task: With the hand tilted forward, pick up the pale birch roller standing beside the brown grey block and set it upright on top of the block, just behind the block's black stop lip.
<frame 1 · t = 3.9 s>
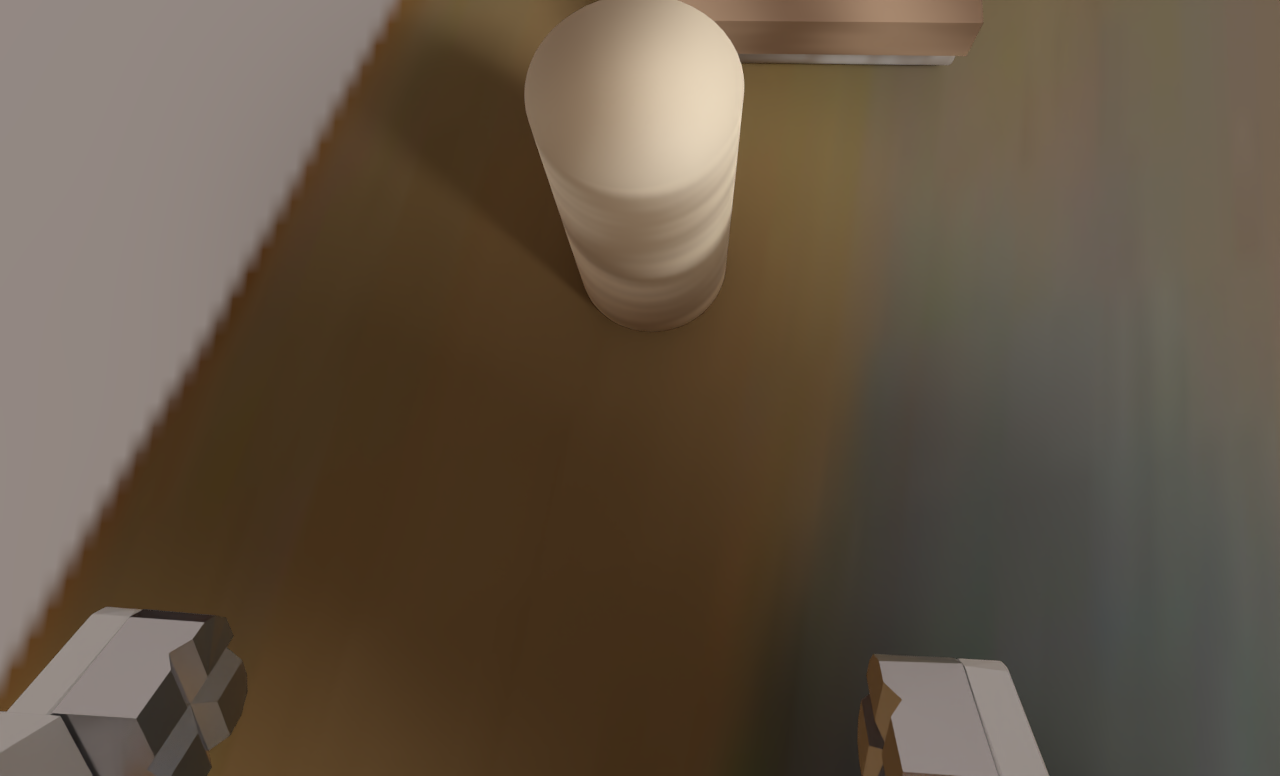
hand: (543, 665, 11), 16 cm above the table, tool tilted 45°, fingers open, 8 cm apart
birch roller: (653, 262, 29), on the table
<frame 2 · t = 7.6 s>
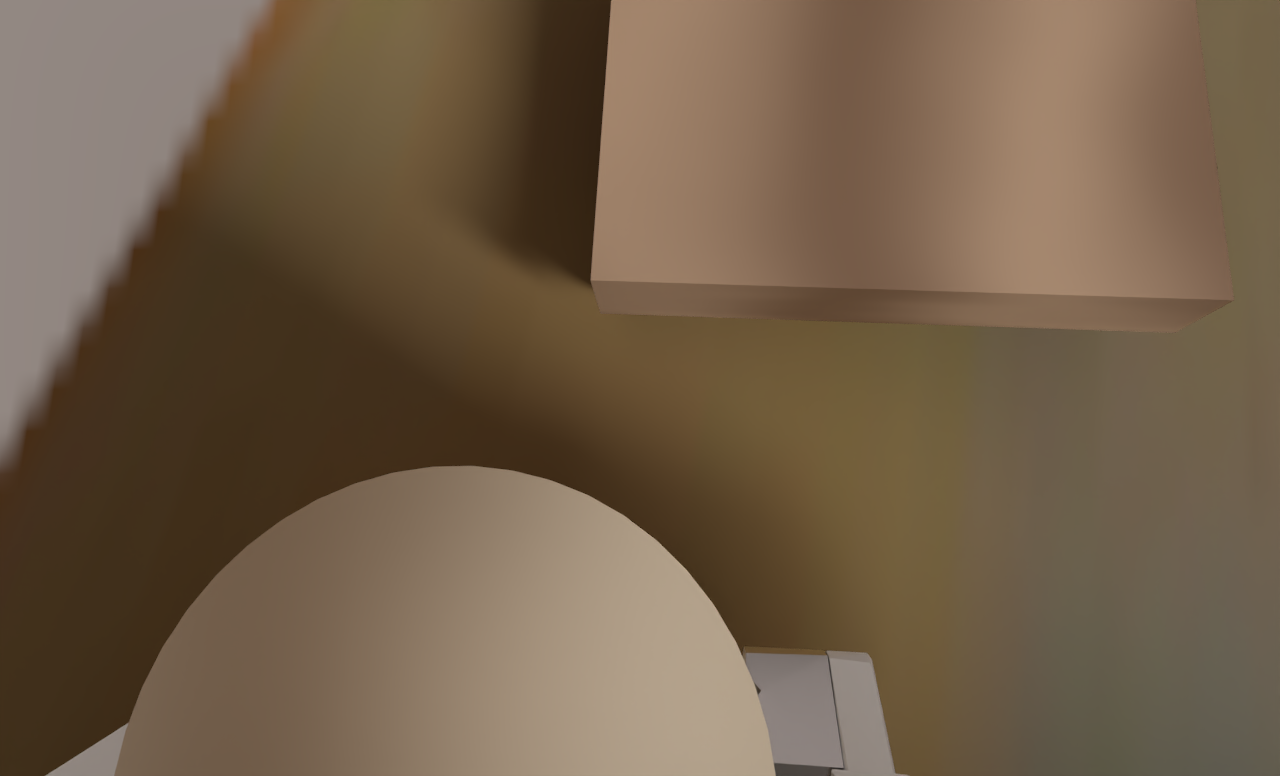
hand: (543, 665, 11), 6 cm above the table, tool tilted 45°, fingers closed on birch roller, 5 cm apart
birch roller: (590, 680, 16), on the table, touching gripper
brown grey block: (852, 122, 18), on the table
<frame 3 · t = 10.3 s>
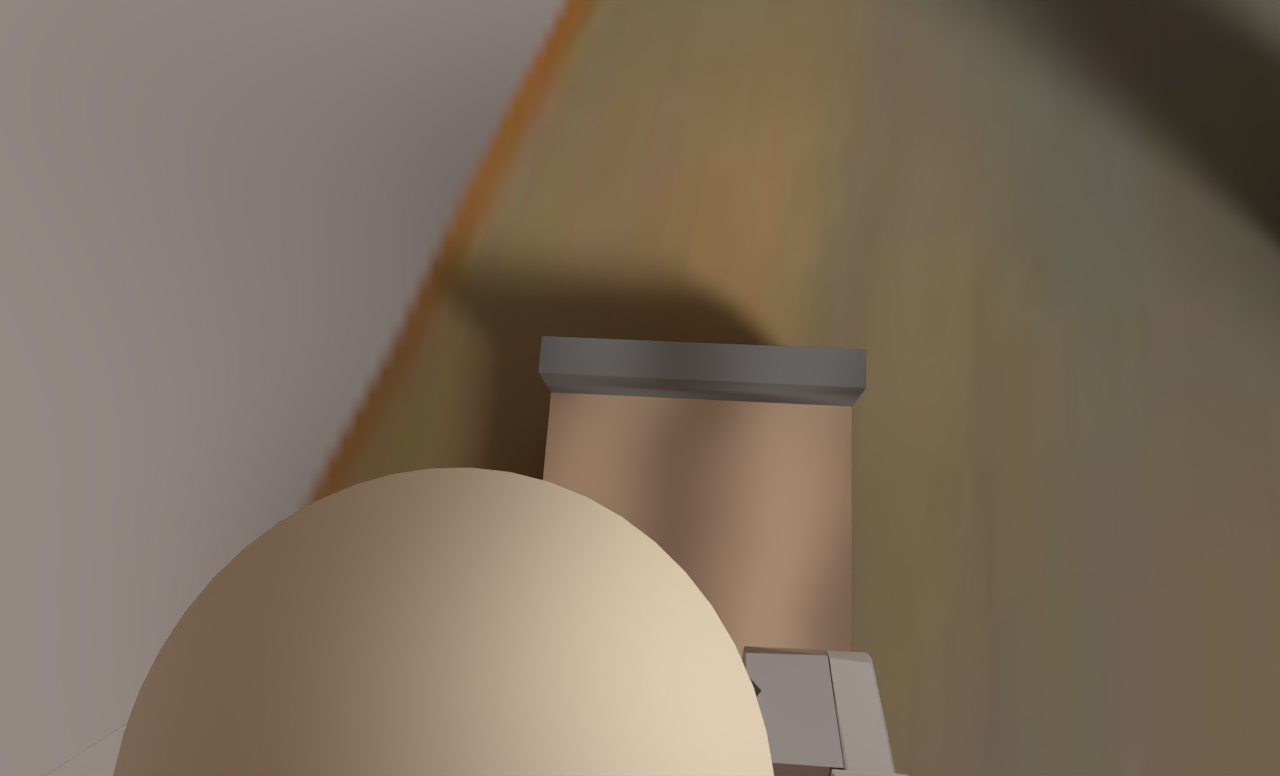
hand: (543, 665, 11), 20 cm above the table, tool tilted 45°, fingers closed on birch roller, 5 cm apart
birch roller: (589, 680, 16), point 14 cm above the table, touching gripper
brown grey block: (693, 539, 31), on the table
when the fingers open (11 cm above the table, at t = 13.0 s): birch roller drops 1 cm, resting on brown grey block.
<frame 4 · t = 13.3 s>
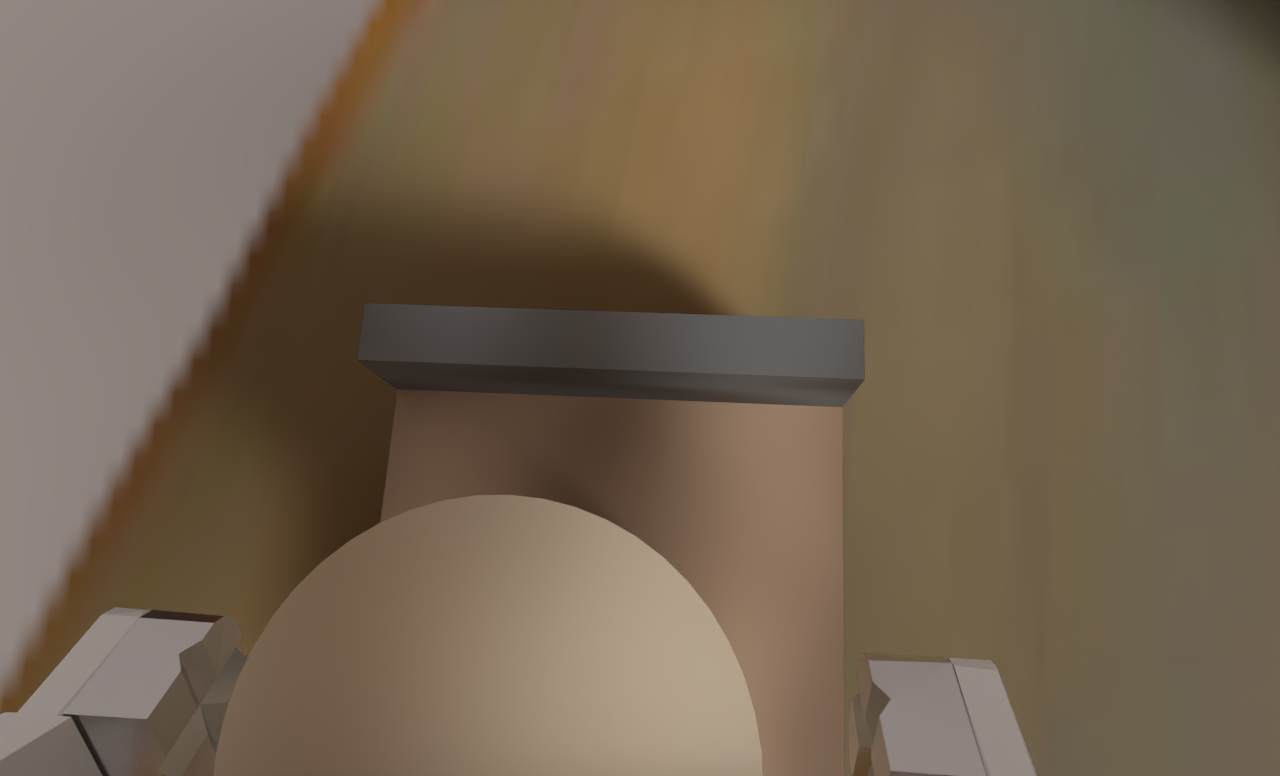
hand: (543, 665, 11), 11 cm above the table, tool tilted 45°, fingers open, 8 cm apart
birch roller: (596, 674, 17), point 4 cm above the table, touching brown grey block
brown grey block: (618, 596, 21), on the table
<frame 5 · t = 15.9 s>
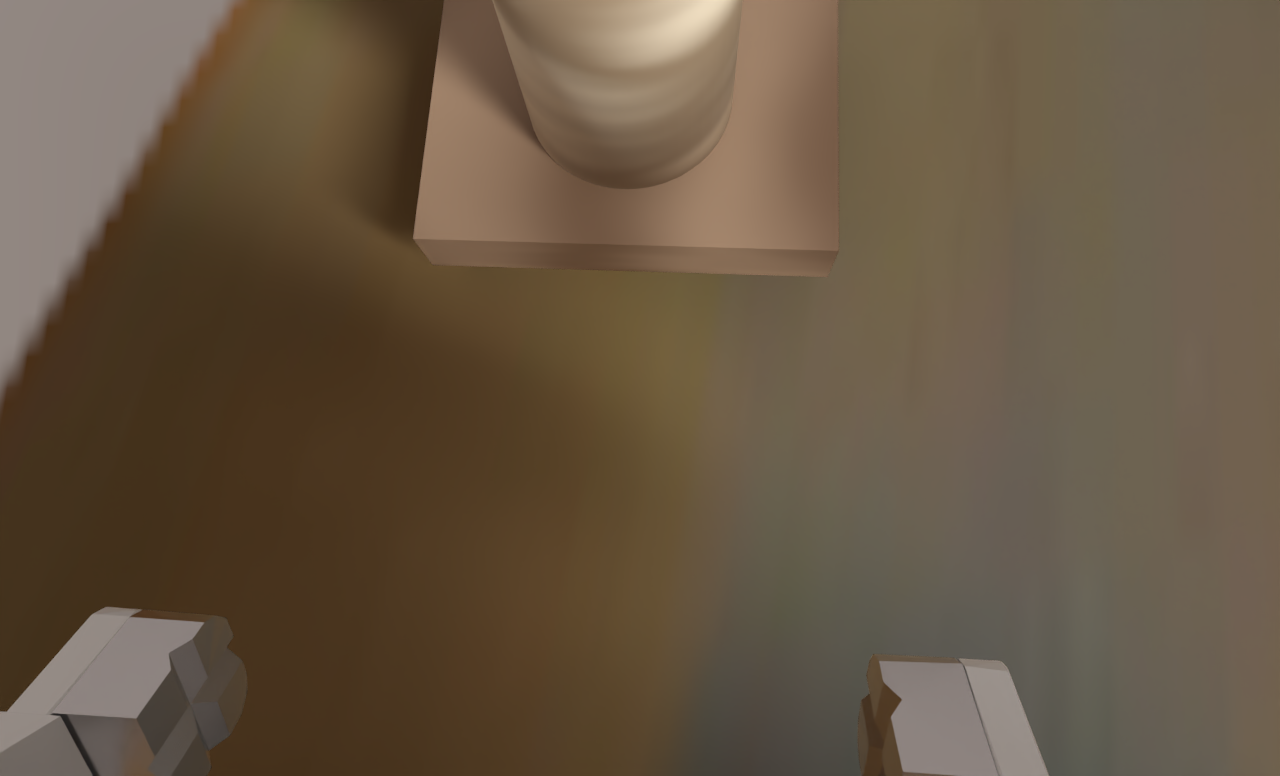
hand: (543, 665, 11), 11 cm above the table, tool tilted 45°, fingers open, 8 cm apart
birch roller: (630, 95, 20), point 4 cm above the table, touching brown grey block
brown grey block: (643, 128, 25), on the table
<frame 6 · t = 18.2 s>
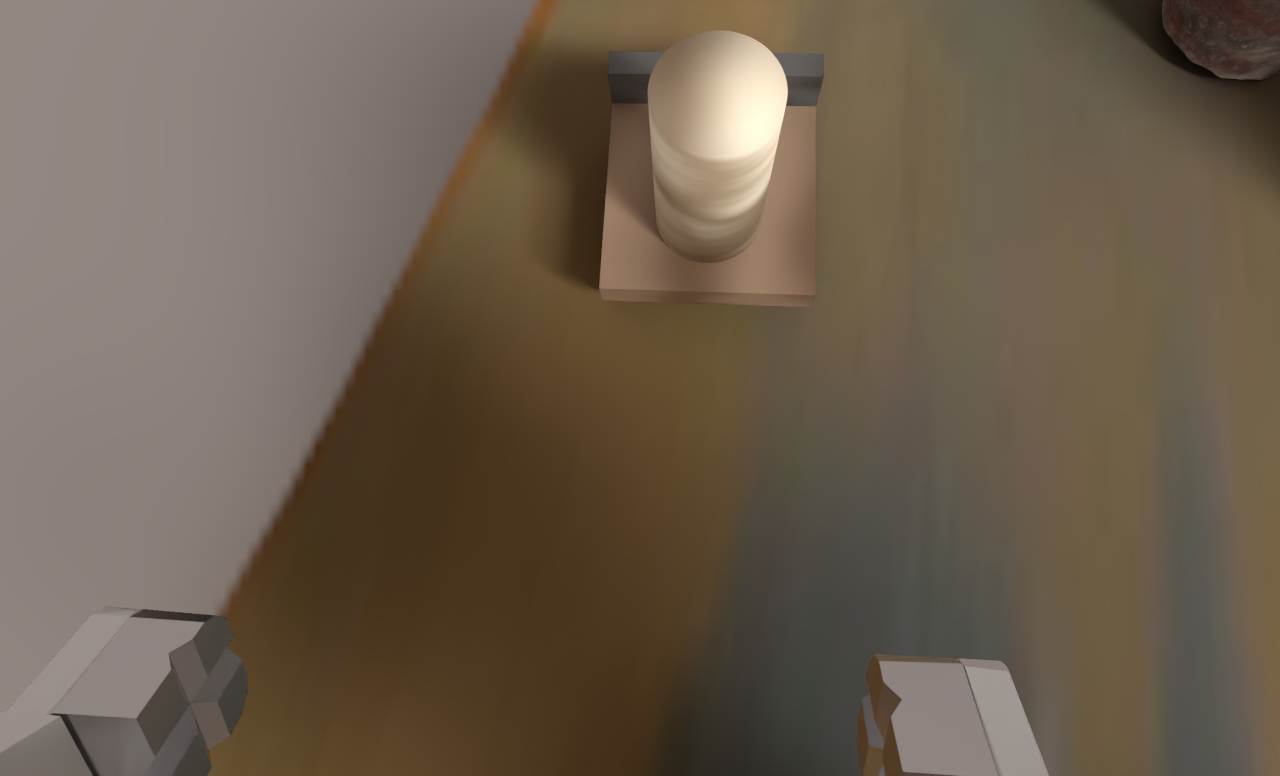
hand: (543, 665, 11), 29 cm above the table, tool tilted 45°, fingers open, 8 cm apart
birch roller: (708, 213, 40), point 4 cm above the table, touching brown grey block
candle: (1215, 32, 45), on the table
brown grey block: (708, 221, 44), on the table
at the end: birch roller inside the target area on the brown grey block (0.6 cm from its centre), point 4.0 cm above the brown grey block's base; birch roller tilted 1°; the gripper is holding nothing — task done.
